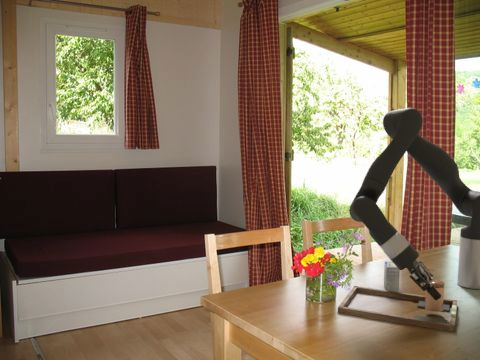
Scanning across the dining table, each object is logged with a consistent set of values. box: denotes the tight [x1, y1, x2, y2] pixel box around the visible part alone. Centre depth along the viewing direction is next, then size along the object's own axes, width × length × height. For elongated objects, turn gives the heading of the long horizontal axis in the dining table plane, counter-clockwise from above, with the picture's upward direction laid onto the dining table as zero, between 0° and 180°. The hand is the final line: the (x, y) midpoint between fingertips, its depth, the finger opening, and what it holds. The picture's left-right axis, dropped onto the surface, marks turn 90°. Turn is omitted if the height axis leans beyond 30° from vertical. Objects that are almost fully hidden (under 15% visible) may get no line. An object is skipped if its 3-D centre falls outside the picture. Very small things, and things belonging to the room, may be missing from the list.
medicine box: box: [383, 260, 401, 292], centre depth 175 cm, size 8×4×9 cm, turn 168°
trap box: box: [337, 285, 458, 333], centre depth 156 cm, size 23×32×2 cm
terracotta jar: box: [424, 279, 445, 313], centre depth 151 cm, size 5×5×8 cm
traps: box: [413, 300, 451, 324], centre depth 152 cm, size 20×9×1 cm, turn 155°
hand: (439, 295), depth 150 cm, fingers closed on terracotta jar, 5 cm apart
